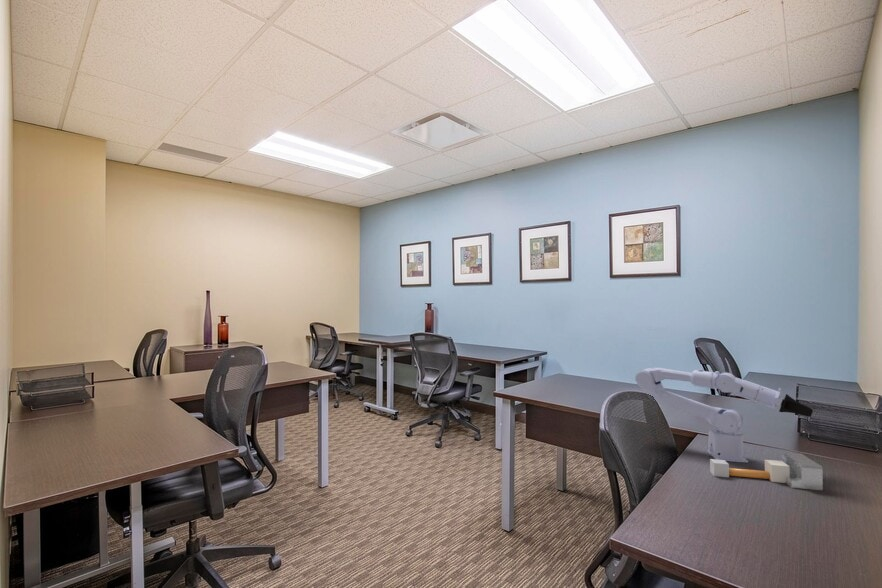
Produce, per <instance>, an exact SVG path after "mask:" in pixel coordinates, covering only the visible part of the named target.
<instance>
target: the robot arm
mask: <svg viewBox="0 0 882 588" xmlns="http://www.w3.org/2000/svg"><path fill="white" fill-rule="evenodd" d="M663 380H671V381H672V380H674V381H682V382H688V383H689V382H690V383H691V384H692V385H693V386H694V387H699V388H706V389H713V390H716V389H718V390H720V391H721V393H726V394H727V393H731V394H734V395H736V396H738V397H741V398H744V399H746V400H749V401H752V402H754V403H756V404H758V405H763V406H765V407H768V408H770V409H771V410H775V409H776V407H777V406H779V410H778V412H780V413H791V414H795V415H798V416H799V415H800V416H805V417H811V418H812V415H813V412H814V410H813V408H811V407H809V406H807V405H805V404H803V403H801V402H800V401H797V400H795V399H794V398H793V397H791V396H790V395H789V394H787V393H786V394H785V396H784V398H782V397H780V396H781V394H782V388H780V387H779V388H778V390H776V389H772V388H769V387H766V386H763V385H761V384H757V383H754V382H752V381H750V380H746V379H742V378H739V377H736V376H735V375H734V374H733V373H730V372H727V371H723V372H721V373H720V371H717V370H716V371H715V372H714V371H707V370H704V369H703V368H698V369H695V370H693V371H691V372H689V371H682V370H676V369H670V368H664V367H651V366H649V367H645V368H644V369H640V370H639V371H637V372H636V374H635V382H636V384H637V386H638V388H640V389H641V390H643V391H644V393H646V394H647V395H648V394H649V395H651V396H653V397H654V399H655V400H656V401H655V400H654V401H655V402H657V403H660V404H662V405H666V406H667V407H671V408H673V409H675V410H678V411H682V412H684V413H687V414H689V415H692V416H695V417H698V418H700V419H702V420H705V421H707V422H708V423H709V424H710V425H712V426H714V427H716V429H713V430H709V431H708V435H707V436H708V437H707V441H708V442H707V444H708V445H707V446H708V450H707V453H708V454H709V455H710V456H711V457H713V459H717V460H725V461H726V462H736V463H749V460H748V459H746V458H745V457H744V447H743V446H744V444H743V443H744V437H743V436H744V435H743V430H742V429H741V425H742V424H743V422H744V418H743V415H742V414H741V413H740V412H739V411H737V410H735V409H732V408H729V409H728V408H722V407H719V406H718V407H717V406H711V405H708V404H705V403H703V402H699V401H696V400H694V399H691V398H688V397H685V396H684V395H683V396H682V395H680V394H678V393H676V392H675V393H674V392H672V391H670V390H666V389H665V387H664V385H663V384H662V381H663ZM649 395H648V396H649Z"/></svg>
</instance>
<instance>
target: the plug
mask: <svg viewBox="0 0 882 588" xmlns="http://www.w3.org/2000/svg"><path fill="white" fill-rule="evenodd" d="M709 472H710V473H711V475H712V476H714V477H719V478H721V477H722V478H730V477H742V478H749V479H750V478H751V479H753V478H754V479H761V480H762V479H763V480H764V479H765V480H769V481H770V482H771V483H772V482H773V483H782V484H787V477H790V466H788V465H787V464H785V463H784V462H783V461H782V460H777V459H775V460H774V459H764V470H760V469H759V470H758V469H747V468H746V469H744V468H735V467H730V464H729V463H728V461H725V460H717V459H715V458H710V459H709Z"/></svg>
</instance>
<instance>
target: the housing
mask: <svg viewBox="0 0 882 588" xmlns="http://www.w3.org/2000/svg"><path fill="white" fill-rule="evenodd" d="M781 461H783V462H784V463H785V464H787V465H788V466H790V477H787V483H786V484H787V486H789V487H790V488H792V489H803V490H804V489H805V490H813V491H815V490H816V491H823V489H824V487H823V485H824V482H823V480H824V479H823V474H824V473H823V471H824V470H823V466H822V465H821V464H819V463H817V462H815V461H814V460H812V459H810V457H808V456H806V455H805V454H803V453H798V452H797V453H796V452H784V451H781Z"/></svg>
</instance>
